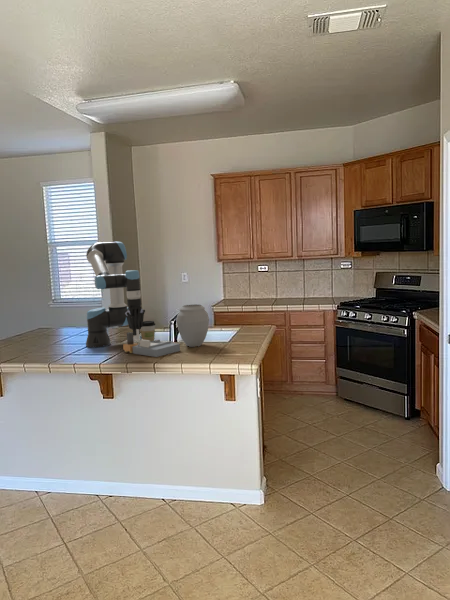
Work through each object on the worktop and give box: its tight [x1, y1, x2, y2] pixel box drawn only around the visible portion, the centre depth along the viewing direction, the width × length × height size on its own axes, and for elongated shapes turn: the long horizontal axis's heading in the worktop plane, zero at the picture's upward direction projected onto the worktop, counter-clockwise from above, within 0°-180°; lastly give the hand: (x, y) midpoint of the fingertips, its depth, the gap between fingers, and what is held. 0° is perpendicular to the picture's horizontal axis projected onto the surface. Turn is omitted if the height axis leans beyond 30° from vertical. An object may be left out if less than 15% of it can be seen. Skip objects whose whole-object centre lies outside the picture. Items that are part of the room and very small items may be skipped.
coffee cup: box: [140, 320, 156, 342], centre depth 281 cm, size 10×10×15 cm
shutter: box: [139, 338, 158, 348], centre depth 263 cm, size 8×8×4 cm
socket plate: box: [132, 339, 181, 358], centre depth 264 cm, size 20×18×5 cm
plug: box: [122, 331, 139, 354], centre depth 267 cm, size 6×6×11 cm
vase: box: [176, 303, 210, 348], centre depth 275 cm, size 20×20×24 cm
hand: (137, 340), depth 255 cm, fingers closed
